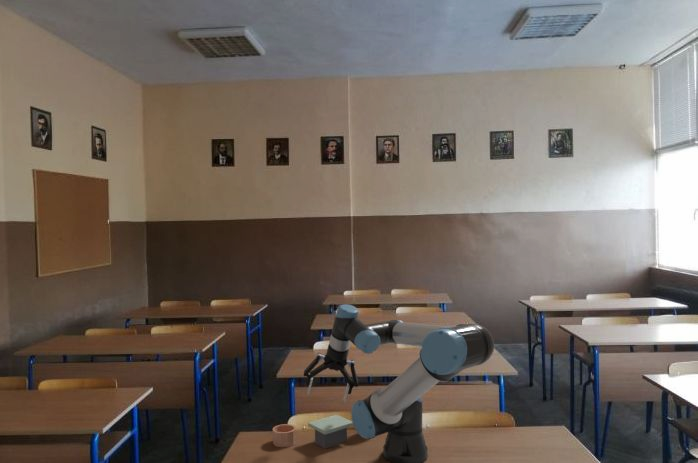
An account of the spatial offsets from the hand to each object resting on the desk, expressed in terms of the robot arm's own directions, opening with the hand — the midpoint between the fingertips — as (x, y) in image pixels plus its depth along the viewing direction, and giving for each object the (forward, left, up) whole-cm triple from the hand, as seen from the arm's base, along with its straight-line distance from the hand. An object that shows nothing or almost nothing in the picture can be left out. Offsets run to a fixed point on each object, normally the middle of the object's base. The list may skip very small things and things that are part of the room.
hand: (326, 396), depth 182 cm
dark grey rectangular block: (-2, 0, -16) cm, 16 cm away
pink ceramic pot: (+9, +13, -16) cm, 22 cm away
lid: (-2, 0, -10) cm, 10 cm away
